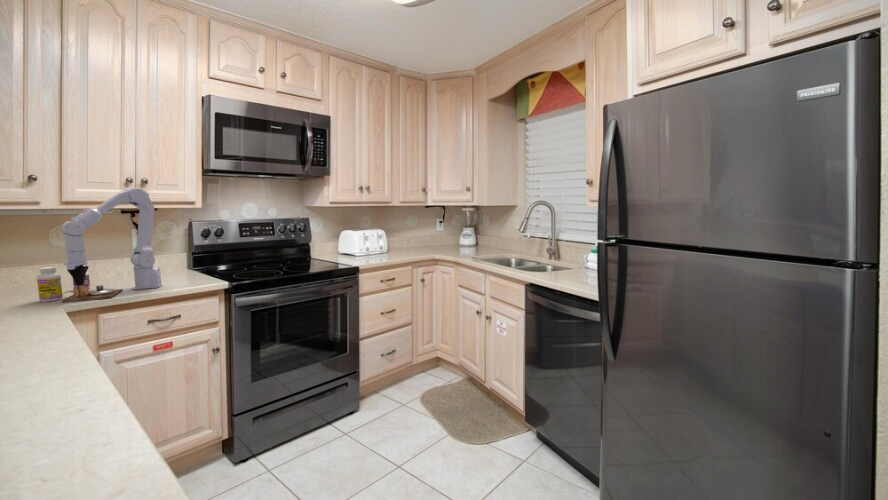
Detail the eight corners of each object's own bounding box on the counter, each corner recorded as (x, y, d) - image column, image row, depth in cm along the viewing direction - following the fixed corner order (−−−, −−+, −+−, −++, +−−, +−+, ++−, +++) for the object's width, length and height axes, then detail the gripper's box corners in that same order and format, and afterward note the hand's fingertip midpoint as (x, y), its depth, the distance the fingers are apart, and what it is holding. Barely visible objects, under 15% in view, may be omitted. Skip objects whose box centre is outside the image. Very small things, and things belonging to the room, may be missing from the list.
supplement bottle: (35, 303, 156) (31, 269, 154) (44, 299, 162) (40, 267, 160) (58, 301, 158) (54, 268, 157) (66, 297, 164) (62, 266, 163)
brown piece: (122, 291, 176) (121, 278, 175) (111, 298, 162) (110, 284, 162) (78, 294, 170) (76, 281, 169) (62, 302, 156) (61, 288, 155)
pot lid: (108, 289, 173) (108, 281, 172) (118, 292, 168) (117, 284, 168) (70, 295, 162) (69, 287, 162) (79, 298, 157) (78, 289, 157)
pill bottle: (80, 291, 176) (78, 269, 174) (70, 291, 177) (68, 269, 176) (93, 288, 181) (91, 267, 180) (84, 288, 182) (81, 267, 181)
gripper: (70, 249, 168) (74, 282, 169) (54, 254, 155) (59, 289, 156) (92, 248, 171) (96, 280, 172) (78, 252, 157) (82, 287, 159)
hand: (80, 284), depth 164 cm, fingers closed
